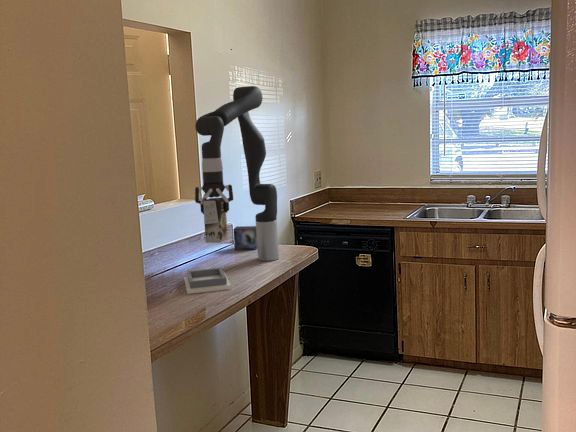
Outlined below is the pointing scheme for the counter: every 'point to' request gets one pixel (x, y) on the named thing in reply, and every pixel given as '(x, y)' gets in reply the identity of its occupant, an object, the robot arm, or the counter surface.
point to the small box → (245, 238)
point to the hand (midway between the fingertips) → (215, 213)
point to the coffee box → (215, 220)
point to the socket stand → (206, 280)
